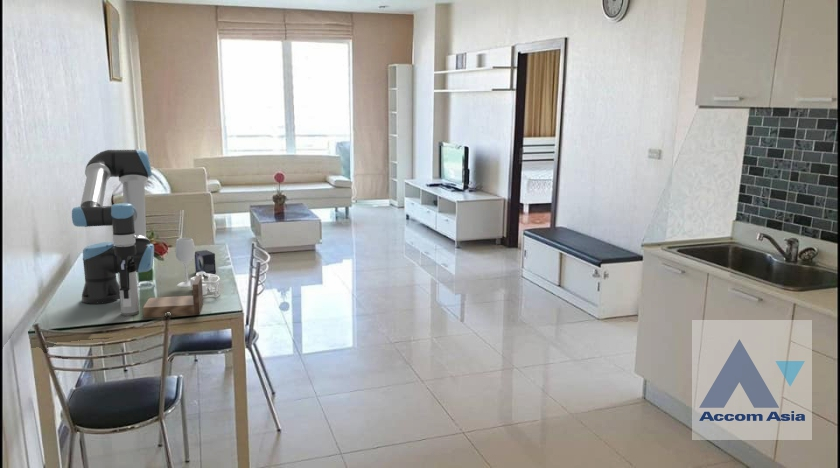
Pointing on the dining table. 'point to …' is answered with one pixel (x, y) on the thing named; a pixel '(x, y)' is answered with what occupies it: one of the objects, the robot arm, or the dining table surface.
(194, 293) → the ledge
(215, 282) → the car outline toy
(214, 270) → the small box
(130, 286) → the travel mug
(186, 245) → the wineglass
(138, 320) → the dining table surface
